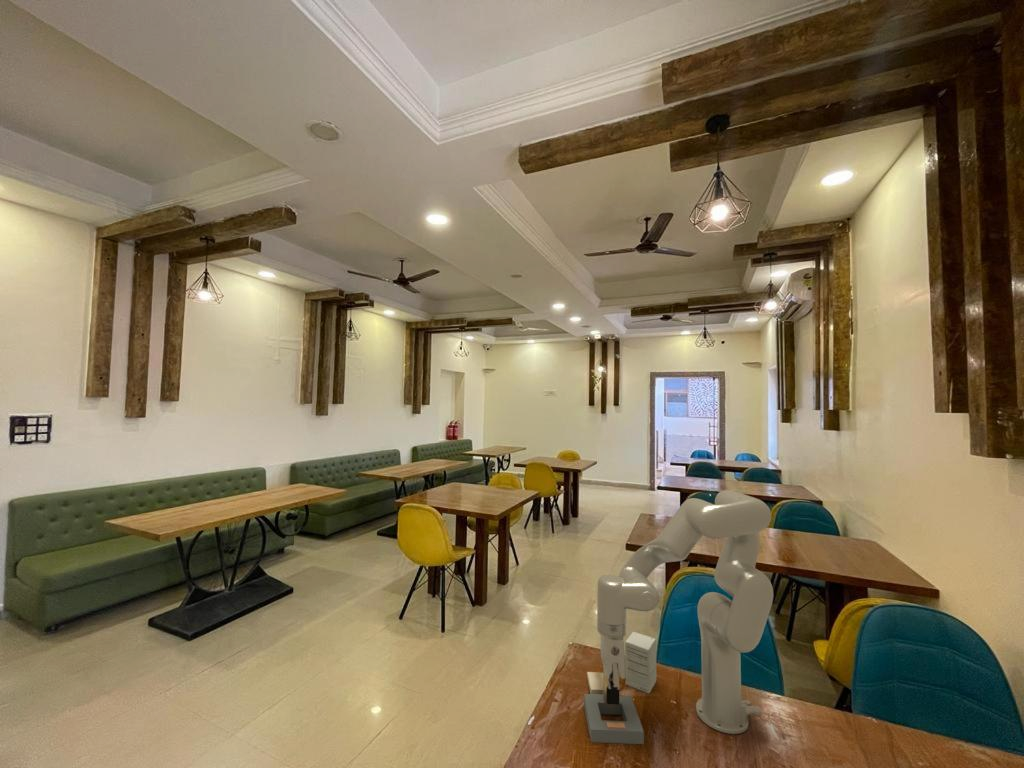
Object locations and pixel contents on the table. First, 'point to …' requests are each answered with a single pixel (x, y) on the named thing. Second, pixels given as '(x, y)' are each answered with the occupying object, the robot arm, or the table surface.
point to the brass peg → (605, 684)
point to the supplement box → (640, 662)
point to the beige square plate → (595, 682)
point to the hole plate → (613, 730)
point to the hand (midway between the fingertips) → (610, 696)
